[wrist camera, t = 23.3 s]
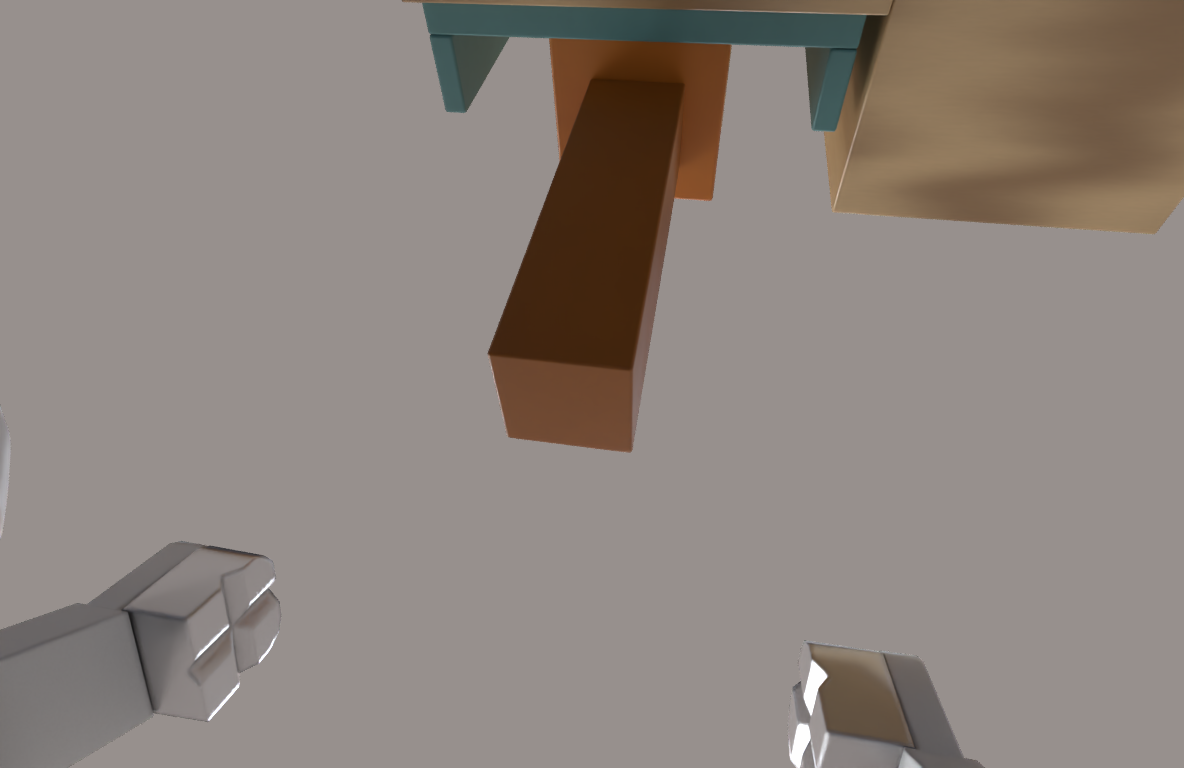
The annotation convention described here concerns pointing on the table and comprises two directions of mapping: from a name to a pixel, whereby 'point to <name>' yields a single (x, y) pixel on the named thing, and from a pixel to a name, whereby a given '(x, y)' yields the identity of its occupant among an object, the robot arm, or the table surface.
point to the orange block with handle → (605, 235)
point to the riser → (999, 108)
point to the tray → (482, 30)
